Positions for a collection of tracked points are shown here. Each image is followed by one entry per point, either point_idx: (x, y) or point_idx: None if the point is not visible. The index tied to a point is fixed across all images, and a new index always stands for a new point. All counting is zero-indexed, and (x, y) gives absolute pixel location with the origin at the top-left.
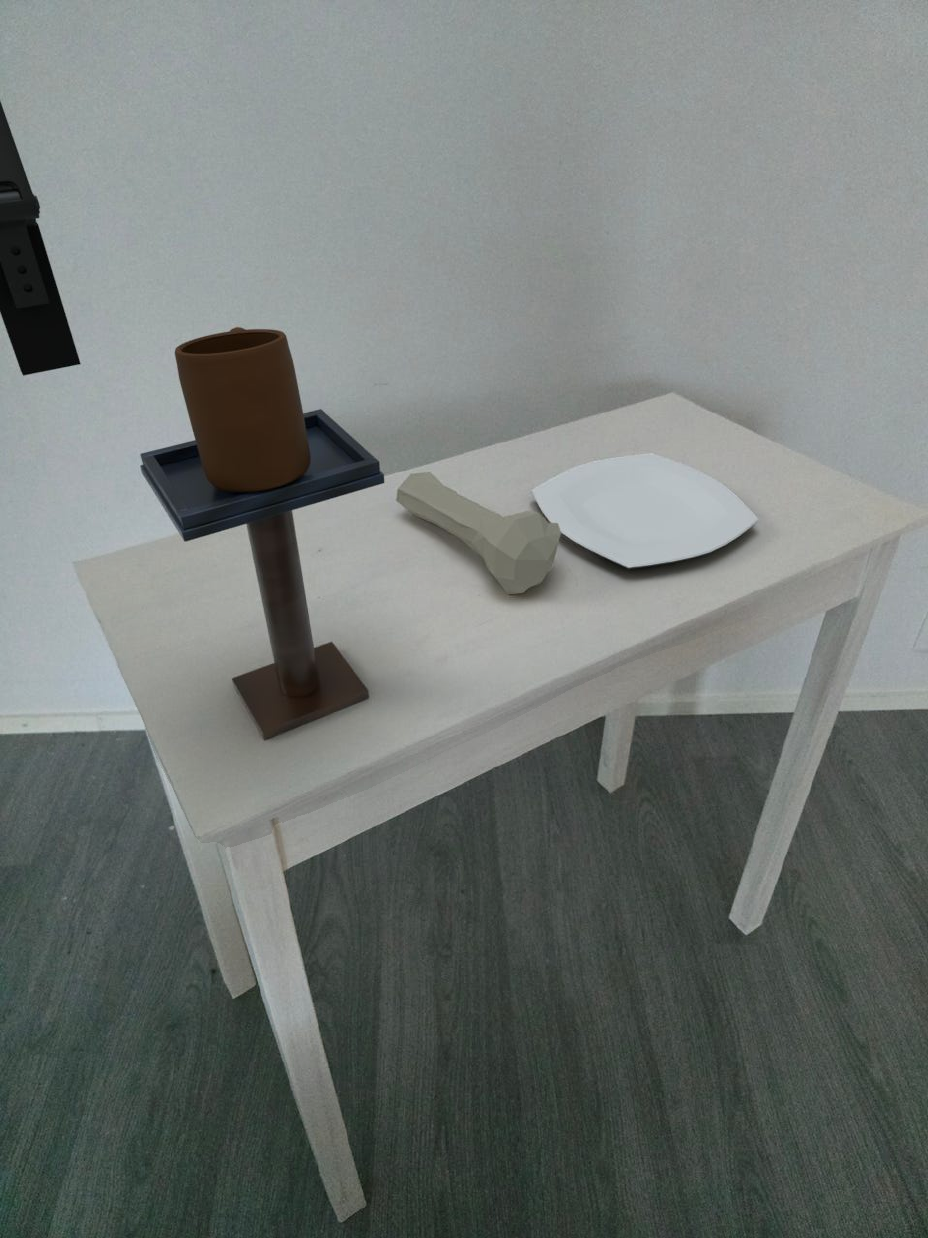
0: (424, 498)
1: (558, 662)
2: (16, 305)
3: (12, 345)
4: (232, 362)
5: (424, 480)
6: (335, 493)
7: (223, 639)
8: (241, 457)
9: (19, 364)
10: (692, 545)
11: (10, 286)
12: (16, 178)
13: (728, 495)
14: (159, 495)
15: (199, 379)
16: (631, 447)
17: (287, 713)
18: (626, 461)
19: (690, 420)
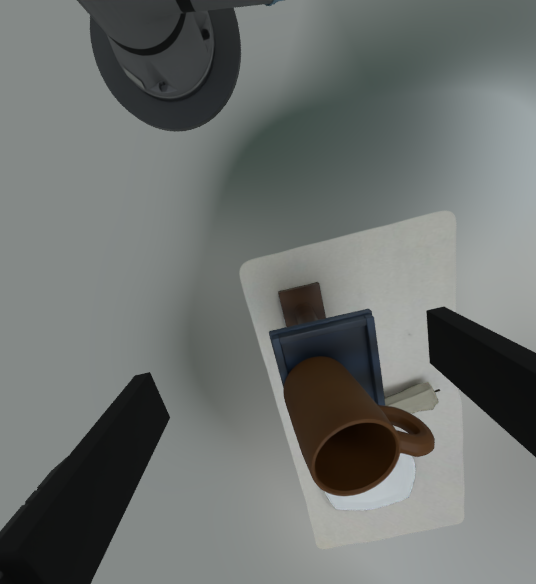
0: (412, 398)
1: (283, 407)
2: (65, 459)
3: (118, 396)
4: (308, 457)
5: (426, 404)
6: None
7: (354, 280)
8: (289, 395)
9: (128, 383)
10: None
11: (37, 487)
12: None
13: (357, 507)
14: (321, 322)
15: (316, 422)
16: (426, 489)
17: (286, 304)
18: (406, 485)
19: (435, 520)
